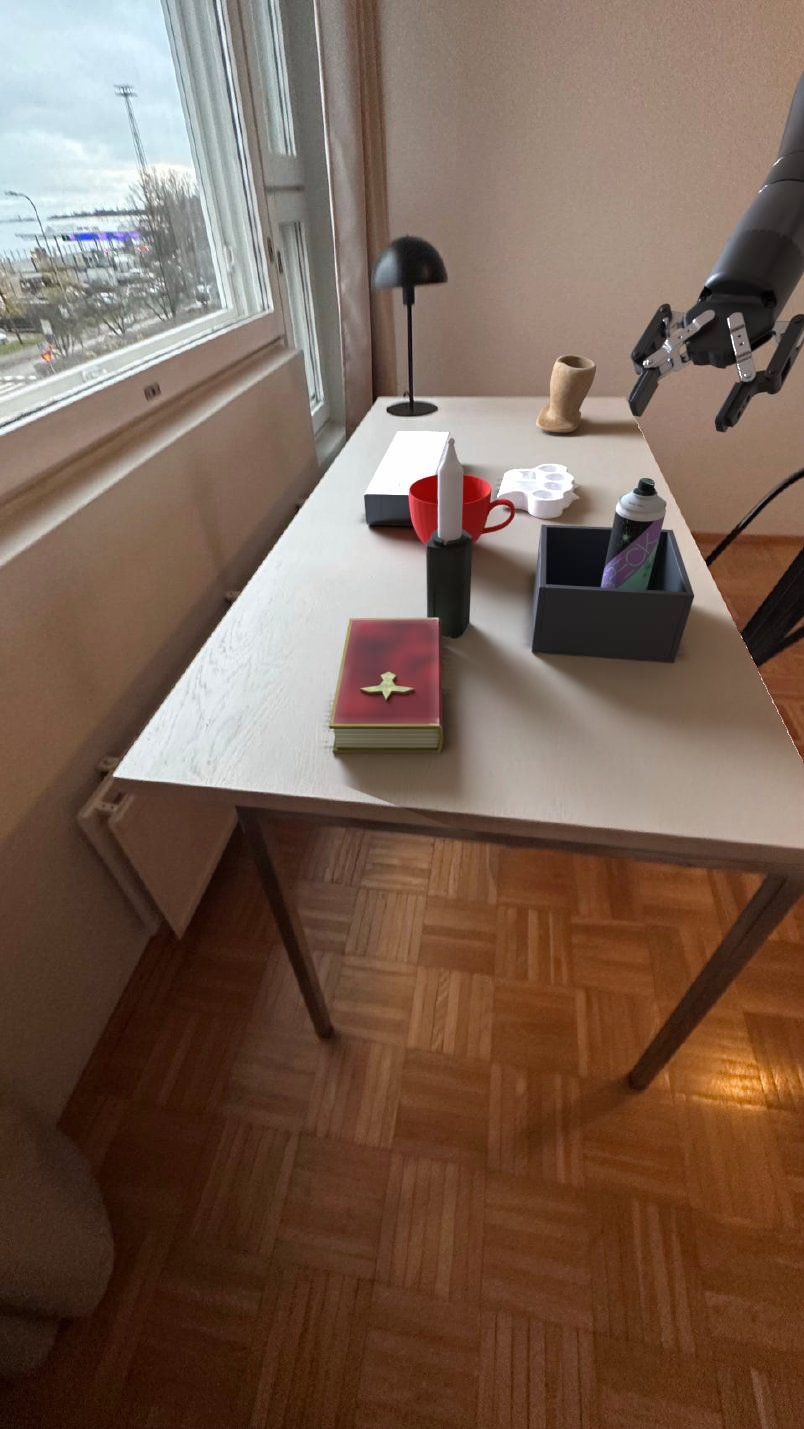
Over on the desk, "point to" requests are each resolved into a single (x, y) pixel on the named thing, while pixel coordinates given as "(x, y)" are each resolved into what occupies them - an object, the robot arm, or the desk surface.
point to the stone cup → (567, 393)
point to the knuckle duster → (539, 490)
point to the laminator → (403, 475)
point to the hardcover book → (390, 687)
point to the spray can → (634, 537)
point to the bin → (606, 599)
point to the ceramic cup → (473, 507)
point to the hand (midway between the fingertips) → (674, 419)
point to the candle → (449, 553)
